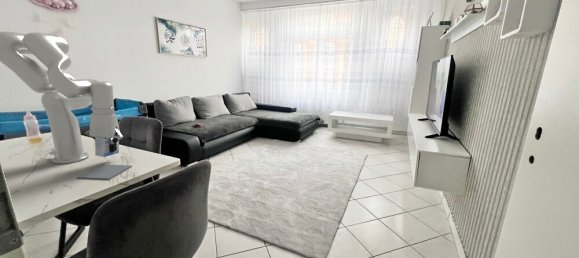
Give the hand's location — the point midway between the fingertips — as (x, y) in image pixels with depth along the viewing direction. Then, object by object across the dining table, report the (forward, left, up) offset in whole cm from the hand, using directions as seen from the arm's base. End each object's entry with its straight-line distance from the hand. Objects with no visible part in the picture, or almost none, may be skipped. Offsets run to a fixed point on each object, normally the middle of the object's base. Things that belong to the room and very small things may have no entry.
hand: (107, 150), depth 109 cm
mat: (+7, -10, -6) cm, 13 cm away
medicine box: (0, 0, -2) cm, 2 cm away
